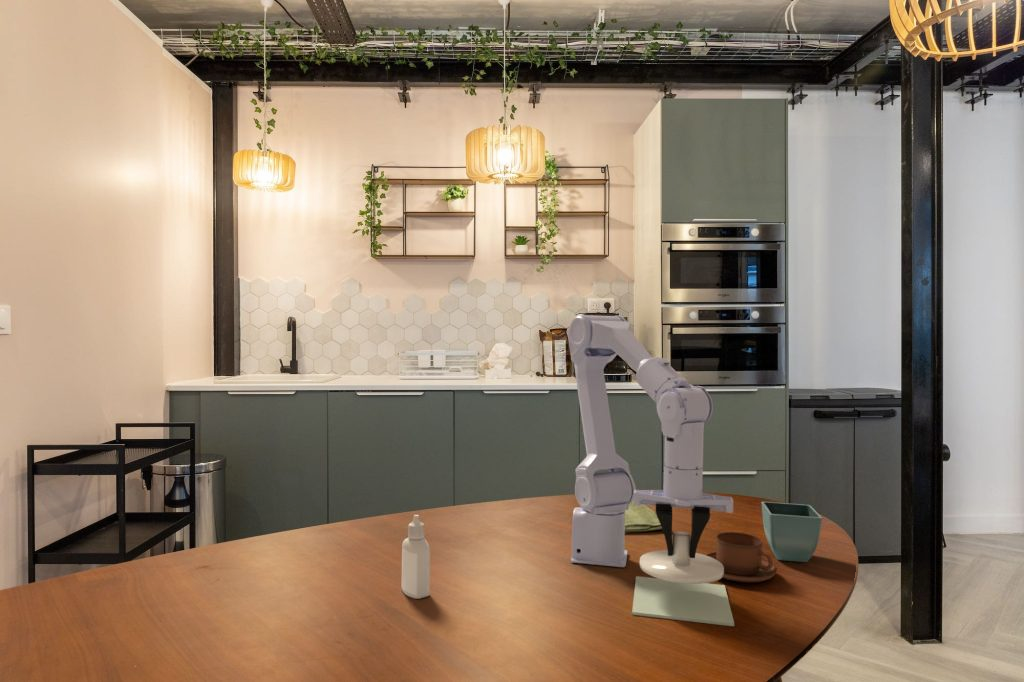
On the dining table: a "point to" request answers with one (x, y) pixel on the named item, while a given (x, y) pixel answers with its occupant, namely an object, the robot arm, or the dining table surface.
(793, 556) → the flower pot
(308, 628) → the dining table surface
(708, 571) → the lid
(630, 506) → the washcloth
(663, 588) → the plate
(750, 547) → the cup and saucer
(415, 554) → the eye dropper bottle
